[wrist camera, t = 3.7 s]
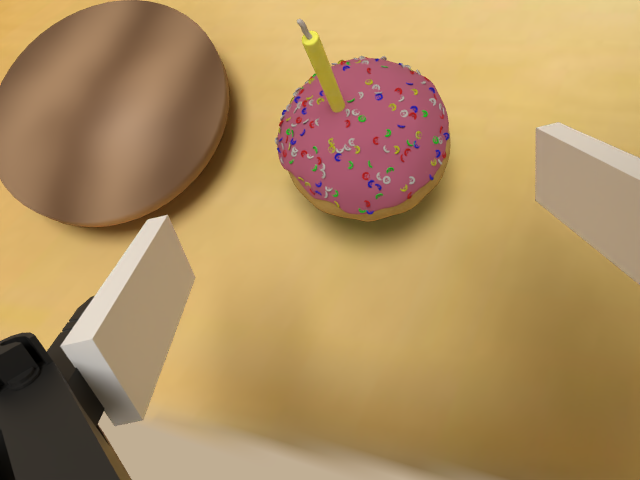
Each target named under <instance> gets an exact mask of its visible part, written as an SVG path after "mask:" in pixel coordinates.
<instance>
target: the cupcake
mask: <svg viewBox="0 0 640 480" xmlns="http://www.w3.org/2000/svg"><path fill="white" fill-rule="evenodd" d="M297 23H298V24H299V26H300V27H301V29H302V32H303V33H304V35H303V37H302V43H303V45H304V48H305V50H306V52H307V55H308V57H309V59H310V61H311V64H312V66H313V68H314V70H315V73H316V74H314V75H313V76H312V77H311V78H310V79H309V80H308V81H307V82H305V85H304V86H303V87H302V88H297V89H296V91H295V92H294V93H293V95H294V97H293V98H292V100H291V102H290V104H289V105H287V107H286V110H283V112H282V117H283V118H282V117H281V118H280V120H281V122H280V124H279V126H280V128H279V133H278V138H275V142H276V144H277V146H278V148H277V150H278V154H279V159H280V162H281V165H282V166H283V168H284V169H286V170H288V172H289V174H290V176H291V178H292V180H293V182H294V184H295V186H296V187H297V189H298V190H299V191H300V192H301V193H302V194H303V195H304V196H305V197H306V198H307V199H308V200H309V201H310V202H311V203H312V204H313V205H314V206H315V207H316V208H318V209H319V210H321V211H323V212H325V213H328V214H331V215H335V216H340V217H345V218H352V219H357V220H361V221H366V222H368V221H375V220H379V219H382V218H386V217H389V216H392V215H396V214H399V213H403V212H406V211H408V210H410V209H412V208H414V207H415V206H416V205H417V204H418V203H419V202H420V201H421V200H422V199H423V198H424V197H425V196H426V195H427V194H428V193H429V192H430V191H432V190H433V189H434V187H435V186H436V185H437V184H438V183H439V181H440V180H441V178H442V176H443V173H444V170H445V168H446V165H447V162H448V158H449V153H450V133H449V122H448V116H447V112H446V109H445V106H444V104H443V102H442V100H441V98H440V96H439V94H438V92H437V90H436V88H435V86H434V85H433V83H432V82H431V81H430V80H429V79H427V78H426V77H424V76H422V75H421V74H420V72H419V71H418V70H416V71H417V73H416V72H415V71H413V70H411V67H410V66H409V65H403V63H399V64H397V63H393V62H390V61H386V59H387V58H386V57H385V56H383V57H381V58H380V59H373V58H367V57H363V56H360V57H359V58H358V59H357V58H354V59H351V60H348V61H344V60H340V61H339V62H338V63H332V65H334V66H332V67H331V66H330V64H329V61H328V58H327V56H326V53H325V51H324V48H323V45H322V43H321V40H320V38H319V35H318V33H317V32H315V31H308V29H307V27H306V24H305V23H304V22H303V20H301V19H298V20H297ZM383 58H385V60H384V59H383ZM382 59H383V60H382ZM340 62H341V63H340ZM406 66H407V67H406ZM408 67H409V68H408ZM299 89H300V90H299ZM297 90H298V92H297ZM276 140H277V141H276Z"/></svg>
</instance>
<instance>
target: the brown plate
mask: <svg viewBox="0 0 640 480" xmlns="http://www.w3.org/2000/svg"><path fill="white" fill-rule="evenodd" d="M228 110H229V86H228V79H227V75H226V72H225V68H224V65H223V63H222V61H221V59H220V57H219V55H218V53H217V51H216V49H215V47H214V45H213V43H212V42H211V40H210V39H209V37H208V36H207V34H206V33H205V32H204V31H203V30H202V29H201V28H200V26H199V25H198V24H197V23H195V22H194V21H193V20H192V19H190V18H189V17H188V16H186V15H184V14H183V13H181V12H179V11H177V10H175V9H173V8H170V7H168V6H165V5H162V4H158V3H154V2H149V1H139V0H122V1H114V2H107V3H103V4H99V5H95V6H92V7H89V8H86V9H83V10H80V11H78V12H76V13H74V14H72V15H70V16H68V17H66V18H64V19H62V20H61V21H59V22H57V23H56V24H54V25H52V26H51V27H50V28H48V29H47V30H46V31H44V32H43V33H42V34H40V35H39V36H38V37H37V38H36V39H35V40H34V41H33V42H32V43H30V44H29V45H28V46H27V48H26V49H25V50H24V51H23V52H22V53H21V54H20V55H19V57H18V58H17V59H16V61H15V62H14V63H13V65H12V66H11V67H10V69H9V71H8V72H7V74H6V76H5V77H4V79H3V81H2V83H1V85H0V179H1V181H2V183H3V184H4V186H5V187H6V188H7V190H8V191H9V192H10V193H11V194H12V195H13V196H14V197H15V198H16V199H17V200H18V201H20V202H21V203H22V204H23V205H25V206H26V207H28V208H30V209H32V210H33V211H35V212H37V213H39V214H41V215H44V216H46V217H48V218H51V219H53V220H56V221H59V222H62V223H65V224H70V225H74V226H82V227H102V226H112V225H116V224H121V223H126V222H129V221H132V220H135V219H138V218H141V217H143V216H145V215H147V214H149V213H151V212H153V211H155V210H157V209H159V208H161V207H162V206H164V205H165V204H167V203H169V202H170V201H172V200H173V199H174V198H175V197H177V196H178V195H179V194H180V193H182V192H183V191H184V190H185V189H186V188H187V187H188V186H189V185H190V184H191V183H192V182H193V181H194V180H195V179H196V178H197V177H198V176H199V174H200V173H201V172H202V170H203V169H204V168H205V167H206V165H207V164H208V162H209V161H210V159H211V157H212V156H213V154H214V152H215V151H216V149H217V146H218V144H219V142H220V140H221V138H222V135H223V132H224V128H225V125H226V122H227V116H228Z"/></svg>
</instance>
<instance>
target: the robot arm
mask: <svg viewBox="0 0 640 480" xmlns="http://www.w3.org/2000/svg"><path fill="white" fill-rule="evenodd" d="M535 201H537V202H538V203H539V204H540V205H541V206H543V207H544V208H545V209H546V210H548V211H549V212H550V213H551V214H553V215H554V216H555V217H556V218H558V219H559V220H560V221H561V222H563V223H564V224H565V225H566V226H567V227H569V228H570V229H571V230H572V231H574V232H575V233H576V234H577V235H579V236H580V237H581V238H582V239H584V240H585V241H586V242H587V243H588V244H590V245H591V246H592V247H593V248H595V249H596V250H597V251H598V252H600V253H601V254H602V255H603V256H605V257H606V258H607V259H608V260H609V261H611V262H612V263H613V264H614V265H616V266H617V267H618V268H619V269H621V270H622V271H623V272H624V273H626V274H627V275H628V276H629V277H630V278H632V279H633V280H634V281H635V282H637V283H638V284H639V285H640V158H638V157H636V156H634V155H632V154H629V153H627V152H625V151H623V150H620V149H618V148H616V147H613V146H611V145H609V144H607V143H604V142H602V141H600V140H598V139H595V138H593V137H591V136H589V135H586V134H584V133H582V132H579V131H577V130H575V129H573V128H570V127H568V126H566V125H564V124H561V123H559V122H558V123H554V124H550V125H545V126H541V127H537V128H536V185H535ZM194 280H195V275H194V273H193V271H192V269H191V266H190V264H189V262H188V259H187V257H186V255H185V253H184V250H183V248H182V246H181V244H180V241H179V239H178V237H177V234H176V232H175V230H174V228H173V225H172V223H171V221H170V219H169V216H168V215H165V216H161V217H156V218H152V219H148V220H147V221H146V223H145V224H144V225H143V227H142V228H141V230H140V231H139V233H138V234H137V236H136V237H135V238H134V240H133V241H132V243H131V244H130V246H129V247H128V249H127V250H126V252H125V253H124V254H123V256H122V257H121V259H120V260H119V262H118V263H117V265H116V266H115V267H114V269H113V270H112V272H111V273H110V275H109V276H108V278H107V279H106V281H105V282H104V283H103V285H102V286H101V288H100V289H99V291H98V292H97V294H96V295H95V296H92V297H91V298H89V299H88V300H87V301H86V302H85V303H84V304H82V305H81V306H80V307H79V308H78V309H77V310H76V312H75V313H74V314H73V316H72V317H71V319H70V320H69V321H70V322H69V323H67V324H66V326H65V327H64V328H63V330H62V331H63V332H61V333H60V334H59V335H58V337H57V338H56V339H55V341H54V342H53V344H52V345H51V346H50V348H49V349H48V351H47V352H46V350H45V349H44V347H43V346H42V345H41V343H40V342H39V340H38V339H37V338H36V336H35V335H34V334H32V333H20V334H16V335H13V336H10V337H8V338H6V339H4V340H2V341H0V480H132V479H131V478H130V476H129V474H128V473H127V471H126V469H125V468H124V466H123V464H122V463H121V461H120V460H119V458H118V456H117V454H116V453H115V451H114V449H113V448H112V446H111V444H110V443H109V441H108V439H107V438H106V436H105V434H104V432H103V431H102V430H101V428H100V427H99V425H98V422H99V420H100V418H101V416H102V414H103V411H105V413H106V414H107V416H108V417H109V418H110V420H111V421H112V423H113V424H114V426H117V425H122V424H127V423H132V422H137V421H142V420H143V419H144V416H145V414H146V411H147V408H148V405H149V403H150V400H151V397H152V395H153V392H154V389H155V386H156V384H157V381H158V378H159V375H160V373H161V370H162V367H163V365H164V362H165V359H166V356H167V354H168V351H169V348H170V345H171V343H172V340H173V337H174V334H175V332H176V329H177V326H178V324H179V321H180V318H181V315H182V313H183V310H184V307H185V304H186V302H187V299H188V296H189V294H190V291H191V288H192V285H193V283H194Z"/></svg>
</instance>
